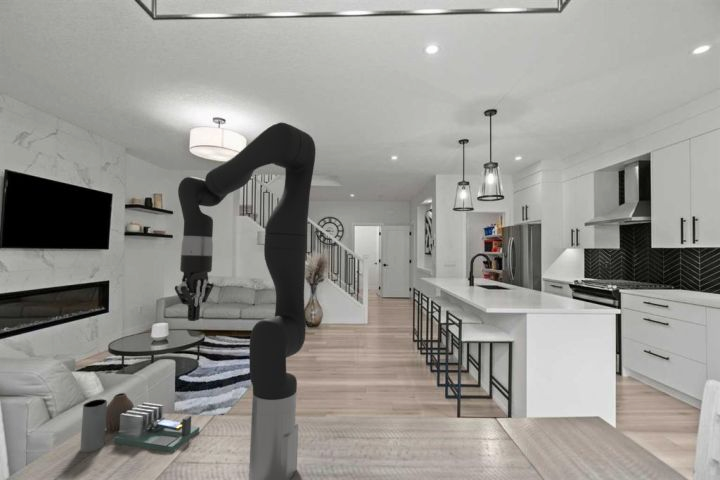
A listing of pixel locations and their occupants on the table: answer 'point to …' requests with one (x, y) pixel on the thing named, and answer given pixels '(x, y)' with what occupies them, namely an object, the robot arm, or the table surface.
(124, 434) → the heatsink
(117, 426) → the vase
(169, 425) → the blue-grey flat piece
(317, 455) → the table surface
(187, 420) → the block
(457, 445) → the table surface
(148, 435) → the board
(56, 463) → the table surface
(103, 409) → the planter
